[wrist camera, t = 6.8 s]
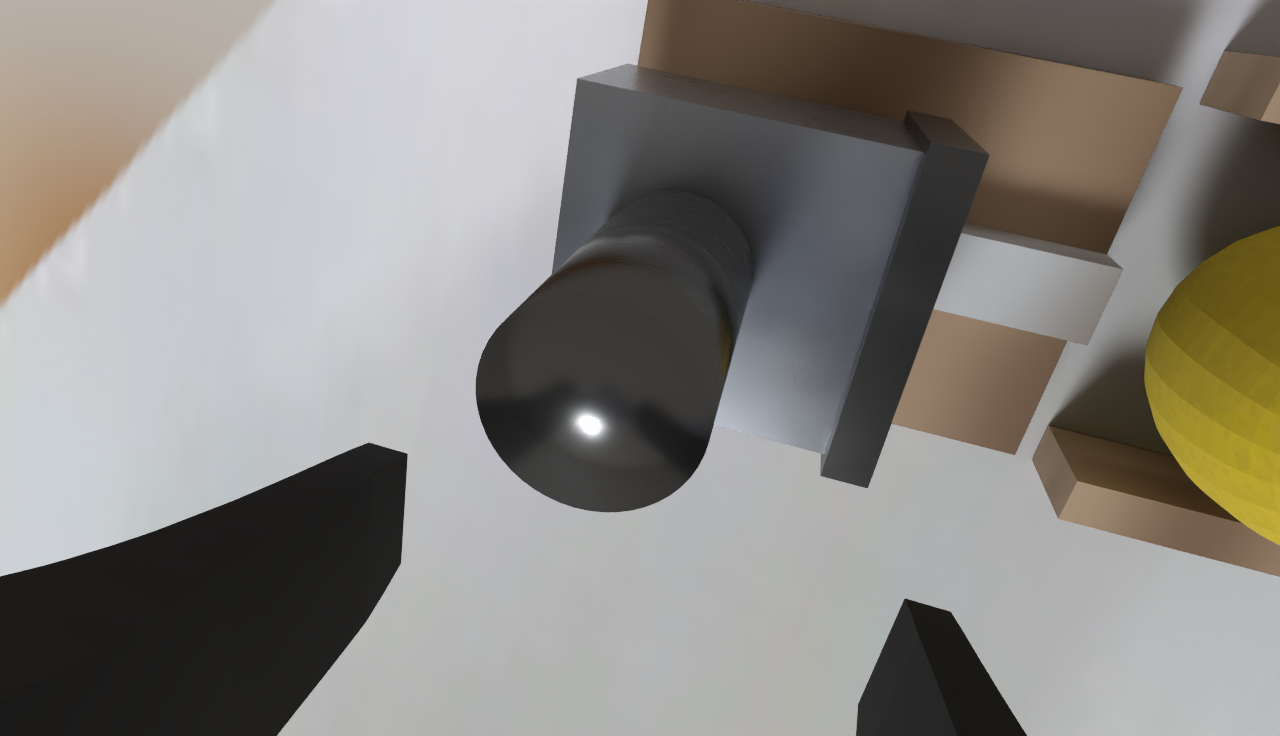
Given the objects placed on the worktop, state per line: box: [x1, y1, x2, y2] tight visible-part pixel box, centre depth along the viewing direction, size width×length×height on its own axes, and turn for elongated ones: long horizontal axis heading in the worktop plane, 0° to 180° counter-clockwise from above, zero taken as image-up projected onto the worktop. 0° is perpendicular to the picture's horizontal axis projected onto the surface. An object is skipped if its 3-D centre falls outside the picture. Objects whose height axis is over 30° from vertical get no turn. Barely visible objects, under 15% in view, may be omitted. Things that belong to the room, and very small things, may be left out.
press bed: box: [638, 0, 1183, 455], centre depth 17 cm, size 10×8×2 cm
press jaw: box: [476, 64, 990, 512], centre depth 12 cm, size 6×6×8 cm
